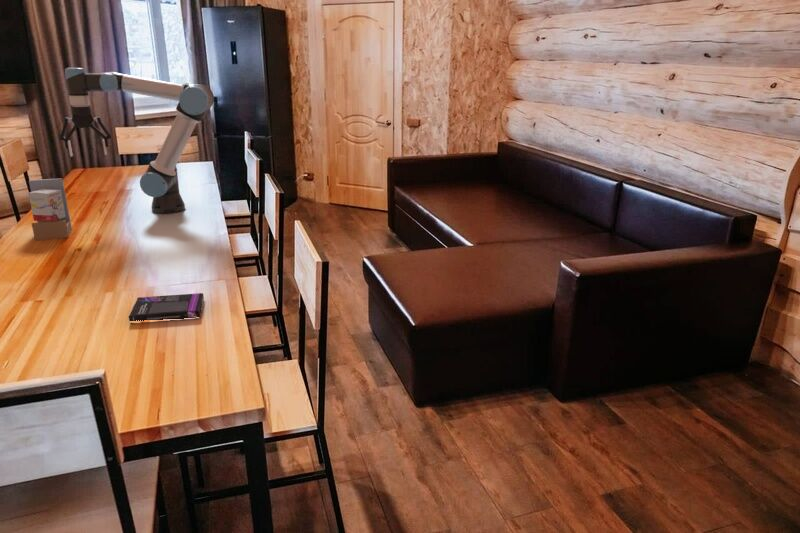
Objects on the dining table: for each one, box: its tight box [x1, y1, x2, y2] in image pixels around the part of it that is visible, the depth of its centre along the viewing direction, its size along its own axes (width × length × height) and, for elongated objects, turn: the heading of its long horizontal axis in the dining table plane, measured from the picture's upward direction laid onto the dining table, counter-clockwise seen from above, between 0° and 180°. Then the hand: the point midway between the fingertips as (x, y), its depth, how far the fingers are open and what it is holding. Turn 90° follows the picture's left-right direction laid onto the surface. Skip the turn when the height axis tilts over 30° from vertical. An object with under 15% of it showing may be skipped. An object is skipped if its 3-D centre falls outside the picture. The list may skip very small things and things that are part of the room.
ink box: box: [28, 189, 66, 222], centre depth 237 cm, size 9×9×12 cm
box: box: [128, 292, 205, 321], centre depth 175 cm, size 14×4×20 cm
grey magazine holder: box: [28, 177, 73, 241], centre depth 238 cm, size 12×13×22 cm
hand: (88, 155), depth 256 cm, fingers open, 13 cm apart
